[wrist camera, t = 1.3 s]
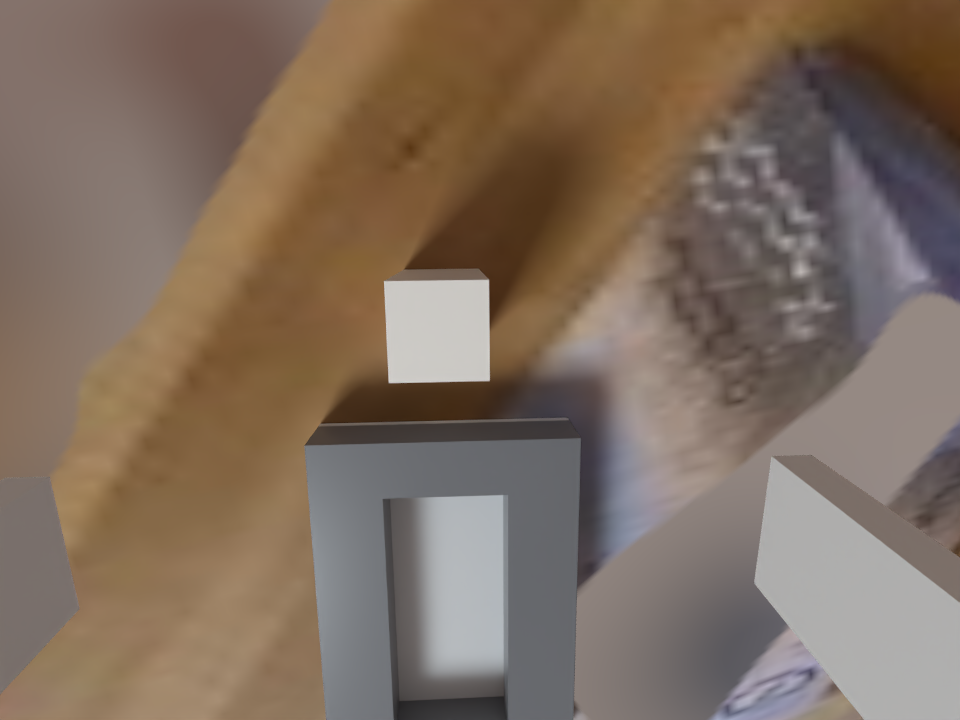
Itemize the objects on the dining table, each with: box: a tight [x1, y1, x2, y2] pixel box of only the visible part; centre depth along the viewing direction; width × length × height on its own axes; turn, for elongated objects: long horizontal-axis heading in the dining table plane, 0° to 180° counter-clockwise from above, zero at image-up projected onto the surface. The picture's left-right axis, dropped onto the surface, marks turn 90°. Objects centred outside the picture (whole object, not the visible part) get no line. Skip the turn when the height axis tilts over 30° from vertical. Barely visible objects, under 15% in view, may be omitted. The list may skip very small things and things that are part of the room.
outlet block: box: [305, 418, 581, 720], centre depth 33 cm, size 21×14×4 cm, turn 1°
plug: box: [384, 269, 490, 383], centre depth 26 cm, size 4×4×9 cm
